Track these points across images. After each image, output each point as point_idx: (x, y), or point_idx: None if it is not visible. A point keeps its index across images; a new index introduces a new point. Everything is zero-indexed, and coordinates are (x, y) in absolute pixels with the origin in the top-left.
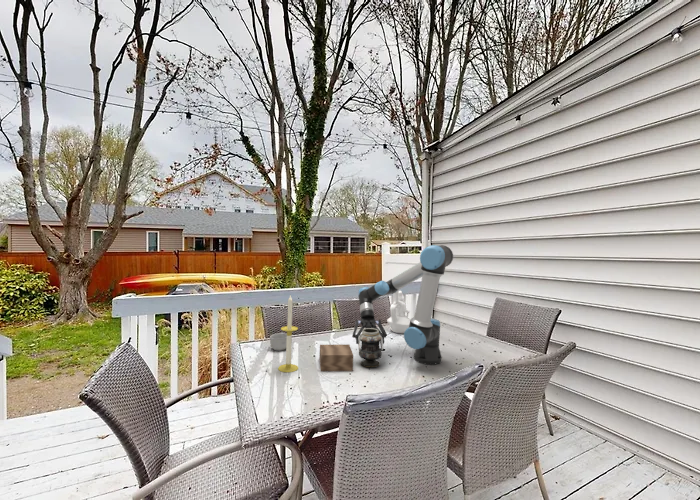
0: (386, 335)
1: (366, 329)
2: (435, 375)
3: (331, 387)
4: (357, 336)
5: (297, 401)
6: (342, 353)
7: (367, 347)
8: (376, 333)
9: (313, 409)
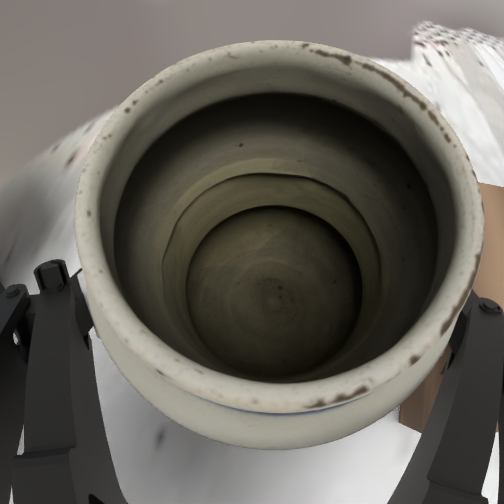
0: (17, 291)
1: (367, 364)
2: (34, 170)
3: (455, 103)
4: (481, 297)
5: (499, 75)
6: (502, 215)
7: (329, 189)
8: (192, 74)
9: (457, 43)
